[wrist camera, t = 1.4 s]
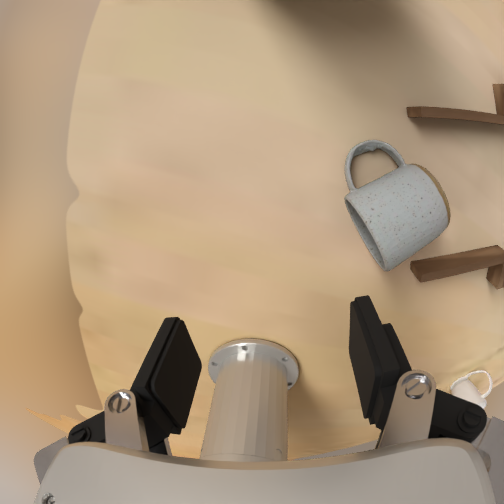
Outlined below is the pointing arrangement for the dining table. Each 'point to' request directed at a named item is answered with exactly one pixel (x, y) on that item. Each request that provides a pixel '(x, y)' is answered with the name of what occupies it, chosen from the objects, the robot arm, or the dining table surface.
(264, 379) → the robot arm
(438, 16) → the dining table surface
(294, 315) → the dining table surface
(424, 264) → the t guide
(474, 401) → the cup
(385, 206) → the ceramic mug
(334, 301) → the dining table surface
